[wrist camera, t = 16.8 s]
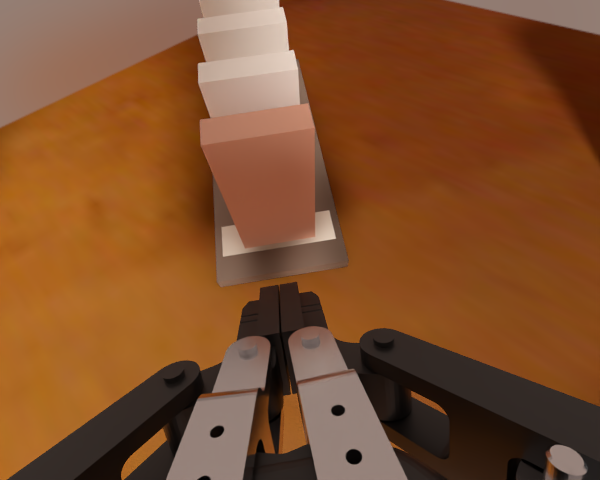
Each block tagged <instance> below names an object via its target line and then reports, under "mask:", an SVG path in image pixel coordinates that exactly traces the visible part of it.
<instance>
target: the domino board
mask: <svg viewBox="0 0 600 480" xmlns="http://www.w3.org/2000/svg"><path fill="white" fill-rule="evenodd" d="M296 63H297V67H298V77H299V96H300V104H307V103H308V104H309V101H308V97H307V93H306V89H305V85H304V81H303V77H302V73H301V69H300V65H299V61H298V59H296ZM309 108H310V105H309ZM310 112H311V109H310ZM311 116H312V113H311ZM312 119H313V117H312ZM313 123H314V121H313ZM314 127H315V125H314ZM213 194H214V219H215V245H216V271H217V283H218V284H219V285H220V287H224V286H230V285H236V284H242V283H249V282H255V281H261V280H267V279H273V278H279V277H285V276H291V275H297V274H304V273H310V272H316V271H322V270H328V269H334V268H340V267H346V266H348V261H349V260H348V256H347V252H346V248H345V244H344V240H343V236H342V232H341V228H340V224H339V220H338V216H337V212H336V208H335V204H334V200H333V197H332V193H331V189H330V185H329V181H328V177H327V173H326V169H325V165H324V161H323V157H322V153H321V149H320V145H319V141H318V137H317V133H316V129H315V237H311V238H305V239H299V240H293V241H287V242H282V243H276V244H270V245H264V246H258V247H252V248H246V249H245V247H244V245H243V242H242V240H241V238H240V236H239V233H238V231H237V229H236V226H235V224H234V222H233V219H232V217H231V215H230V212H229V210H228V208H227V205H226V203H225V201H224V198H223V196H222V194H221V192H220V189H219V187H218V185H217V182H216V180H215V178H214V175H213Z"/></svg>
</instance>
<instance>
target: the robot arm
mask: <svg viewBox="0 0 600 480" xmlns="http://www.w3.org/2000/svg"><path fill="white" fill-rule="evenodd" d="M289 376H290V378H289ZM290 382H291V388H292V393H293V394H295V393H297V395H298V401H299V407H300V413H301V418H302V423H303V428H304V433H305V438H306V443H307V445H304V446H302V447H300V448H297V449H295V450H293V451H290V452H288V453H284V454H282V448H283V429H284V412H283V396H284V395H290V394H291V393H290ZM411 391H413V392H415V393H417V394H419V395H421V396H423V397H425V398H427V399H429V400H431V401H433V402H435V403H437V404H438V405H439V406H441V407H442V408H443V409H444V411H445V412H446V414H447V415H448V416H447V415H445V414H443V413H441V412H439V411H438V410H436V409H434V408H432V407H430V406H428V405H426V404H424V403H422V402H420V401H418V400H417V399H415V398H413V397H411ZM162 428H163V429H164V432H165V435H166V438H167V441H166V442H165V443H163V444H162V445H161V446H160V447H159V448H158V449H157V450H156V451H155V452H154V453H153V454H152V455H150V456H149V457H148V458H147V459H146V460H145V461H144V462H143V463H142V464H141V465H140V466H139V467H137V468H136V469H135V470H134V471H133V472H132V473H131V474H130V475H129V476H128V477H127V478H126V479H124V480H600V407H599V406H596V405H593V404H591V403H588V402H585V401H583V400H580V399H577V398H575V397H572V396H569V395H567V394H564V393H561V392H559V391H556V390H553V389H551V388H548V387H545V386H543V385H540V384H537V383H535V382H532V381H529V380H527V379H524V378H521V377H519V376H516V375H513V374H511V373H508V372H505V371H503V370H500V369H497V368H495V367H492V366H489V365H487V364H484V363H481V362H479V361H476V360H473V359H471V358H468V357H465V356H463V355H460V354H457V353H455V352H452V351H449V350H447V349H444V348H441V347H439V346H436V345H433V344H431V343H428V342H425V341H423V340H420V339H417V338H415V337H412V336H409V335H407V334H404V333H401V332H399V331H396V330H393V329H386V328H381V329H374V330H371V331H368V332H366V333H365V334H364V335H363V336H362V337H361V338H360V343H348V342H343V341H339V340H337V339H335V338H334V337H333V335H332V333H331V332H330V331H329V330H328V327H327V324H326V320H325V317H324V314H323V310H322V307H321V304H320V300H319V297H318V296H317V295H316V294H314V293H313V292H312V291H311V292H305V293H299V291H298V285H297V282H293V283H287V284H281V285H280V291H279V286H278V285H275V286H269V287H262V288H260V298H259V300H256V301H250V302H248V303H247V305H246V306H245V307H244V308H243V310H242V315H241V320H240V326H239V331H238V337H237V341H236V342H234V343H233V344H232V345H230V347H229V348H228V349H227V351H226V353H225V356H224V359H223V362H221V363H219V364H218V365H215V366H213V367H210V368H208V369H205V370H202V371H200V368H199V365H198V364H197V363H195V362H193V361H179V362H176V363H173V364H170V365H168V366H166V367H164V368H163V369H161V370H160V371H158V372H157V373H155V374H154V375H153V376H151V377H150V378H148V379H147V380H146V381H144V382H143V383H141V384H140V385H139V386H137V387H136V388H134V389H133V390H132V391H130V392H129V393H127V394H126V395H125V396H123V397H122V398H120V399H119V400H118V401H116V402H115V403H114V404H112V405H111V406H109V407H108V408H107V409H105V410H104V411H102V412H101V413H100V414H98V415H97V416H95V417H94V418H93V419H91V420H90V421H88V422H87V423H86V424H84V425H83V426H81V427H80V428H79V429H77V430H76V431H74V432H73V433H72V434H70V435H69V436H67V437H66V438H65V439H63V440H62V441H60V442H59V443H58V444H56V445H55V446H53V447H52V448H51V449H49V450H48V451H46V452H45V453H44V454H42V455H41V456H39V457H38V458H37V459H35V460H34V461H32V462H31V463H30V464H28V465H27V466H25V467H24V468H23V469H21V470H20V471H18V472H17V473H16V474H14V475H13V476H11V477H10V478H9V479H7V480H122V479H121V471H122V468H123V466H124V464H125V462H126V461H127V459H128V458H129V457H130V456H131V455H132V454H133V453H134V452H135V451H136V450H138V449H139V448H140V447H141V446H142V445H143V444H144V443H146V442H147V441H148V440H149V439H150V438H151V437H152V436H154V435H155V434H156V433H157V432H158V431H159V430H160V429H162ZM389 441H391V442H392V443H394V444H395V445H397V446H398V447H400V448H401V449H403V450H404V451H406V452H404V451H402V450H399V449H397V448H393V447H392V446H391V444H390V442H389Z"/></svg>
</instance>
